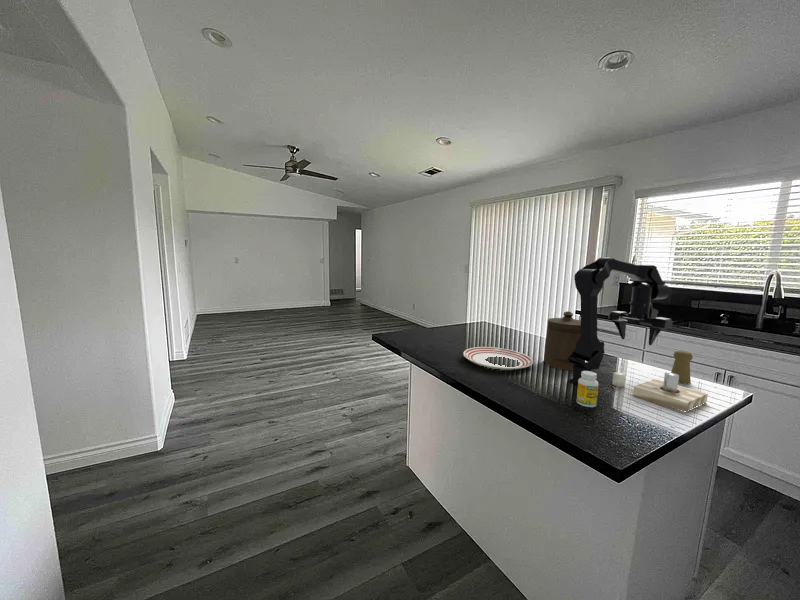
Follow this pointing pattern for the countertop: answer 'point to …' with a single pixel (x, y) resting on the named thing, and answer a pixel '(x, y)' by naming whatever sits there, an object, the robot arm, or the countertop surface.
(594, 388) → the supplement bottle
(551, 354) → the wooden container
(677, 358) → the cork
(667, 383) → the tall steel pin
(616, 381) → the short cream pin
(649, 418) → the countertop surface
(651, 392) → the hole board
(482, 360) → the dinner plate
